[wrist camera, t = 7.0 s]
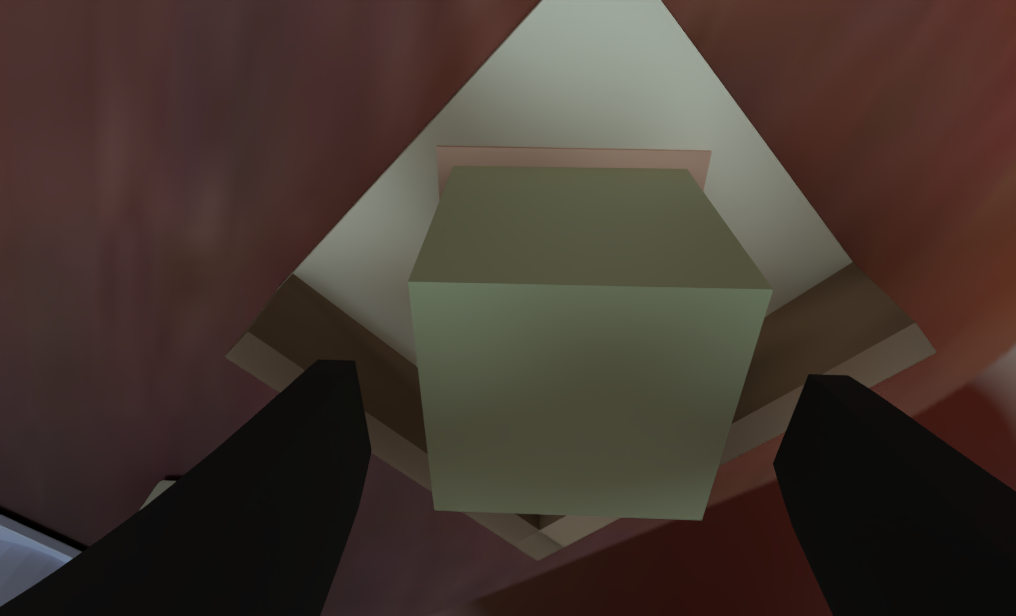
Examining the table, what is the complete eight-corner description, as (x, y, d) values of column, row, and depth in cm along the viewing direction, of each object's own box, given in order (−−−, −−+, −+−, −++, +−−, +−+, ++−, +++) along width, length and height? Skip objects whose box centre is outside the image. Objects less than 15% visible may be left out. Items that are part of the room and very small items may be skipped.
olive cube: (653, 355, 14) (701, 520, 10) (463, 350, 14) (434, 510, 10) (686, 169, 12) (773, 289, 7) (453, 165, 12) (408, 281, 8)
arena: (537, 476, 18) (537, 561, 15) (279, 286, 14) (224, 357, 12) (861, 278, 13) (937, 352, 11) (605, -70, 10) (629, -80, 7)
